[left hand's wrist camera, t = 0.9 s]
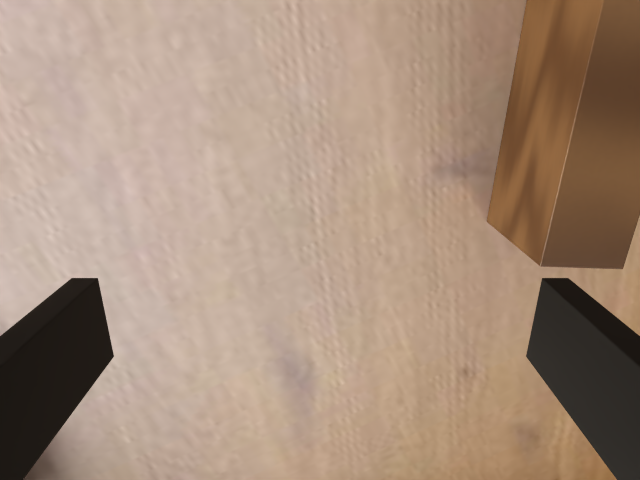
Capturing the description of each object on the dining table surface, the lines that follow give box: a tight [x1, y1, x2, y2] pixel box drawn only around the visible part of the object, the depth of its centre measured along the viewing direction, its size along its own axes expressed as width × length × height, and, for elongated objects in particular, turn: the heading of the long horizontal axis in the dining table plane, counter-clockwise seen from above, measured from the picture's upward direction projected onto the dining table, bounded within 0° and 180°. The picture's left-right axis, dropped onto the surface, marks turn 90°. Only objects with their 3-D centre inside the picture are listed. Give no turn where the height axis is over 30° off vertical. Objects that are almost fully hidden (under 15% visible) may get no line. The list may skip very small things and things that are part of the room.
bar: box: [487, 0, 640, 269], centre depth 27 cm, size 21×5×9 cm, turn 178°
